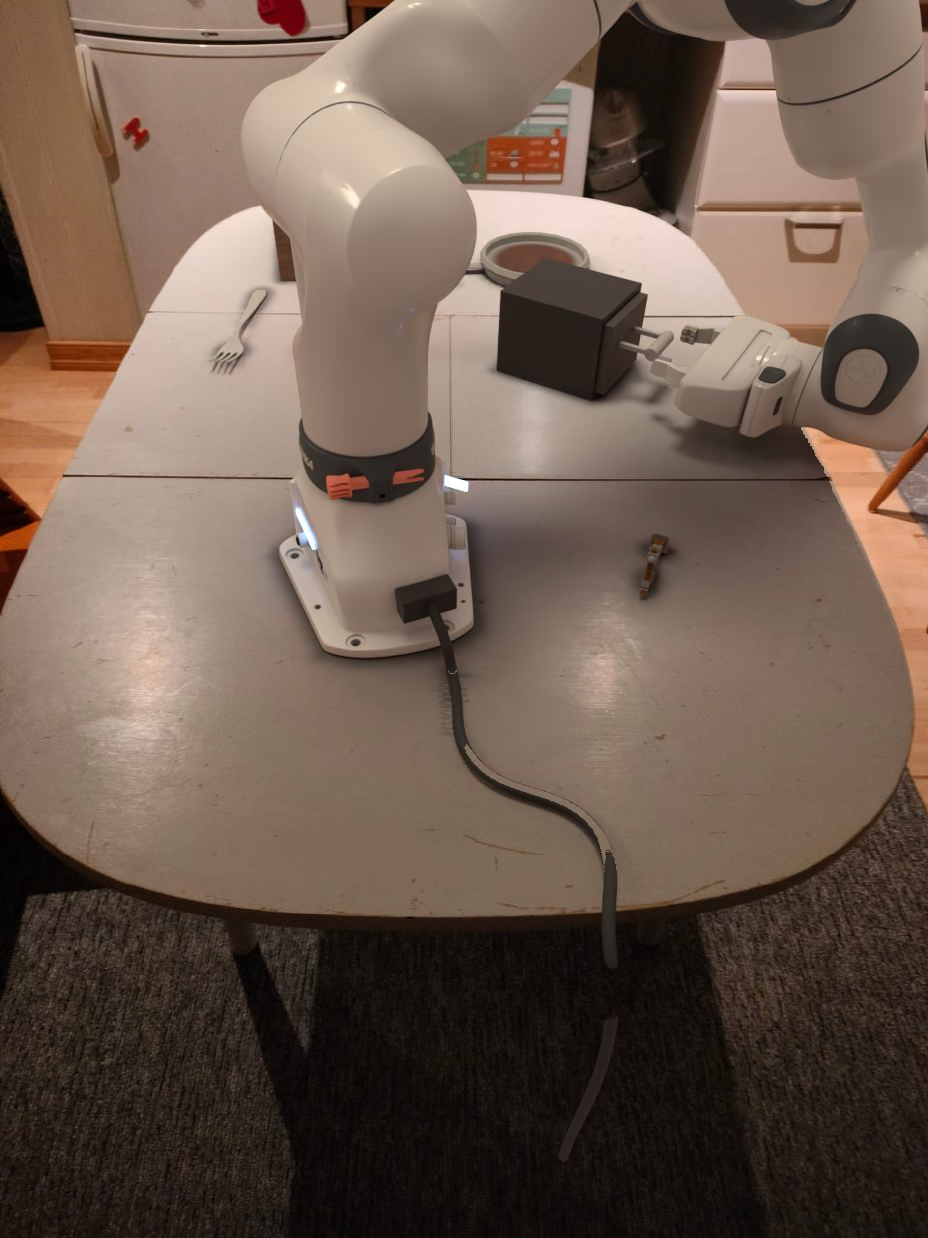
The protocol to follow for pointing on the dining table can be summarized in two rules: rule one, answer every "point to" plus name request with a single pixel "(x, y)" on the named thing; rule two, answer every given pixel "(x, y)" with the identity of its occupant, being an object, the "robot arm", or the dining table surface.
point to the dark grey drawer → (626, 342)
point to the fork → (234, 343)
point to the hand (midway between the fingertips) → (668, 347)
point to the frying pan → (527, 254)
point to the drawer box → (558, 324)
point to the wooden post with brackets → (653, 558)
